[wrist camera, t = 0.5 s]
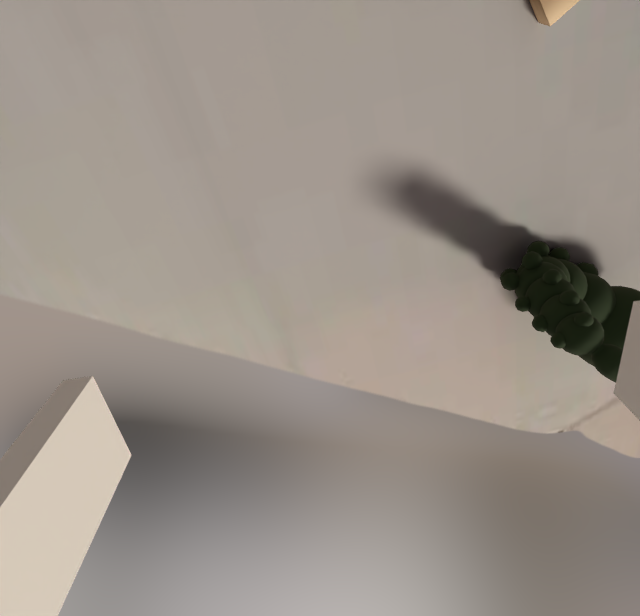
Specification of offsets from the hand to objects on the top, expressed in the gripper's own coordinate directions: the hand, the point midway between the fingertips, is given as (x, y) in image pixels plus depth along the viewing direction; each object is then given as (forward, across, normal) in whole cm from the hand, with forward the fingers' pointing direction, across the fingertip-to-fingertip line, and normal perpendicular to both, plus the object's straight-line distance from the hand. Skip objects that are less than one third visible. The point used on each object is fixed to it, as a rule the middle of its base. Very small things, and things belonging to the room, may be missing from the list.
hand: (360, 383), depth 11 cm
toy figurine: (+38, +25, -18) cm, 49 cm away
